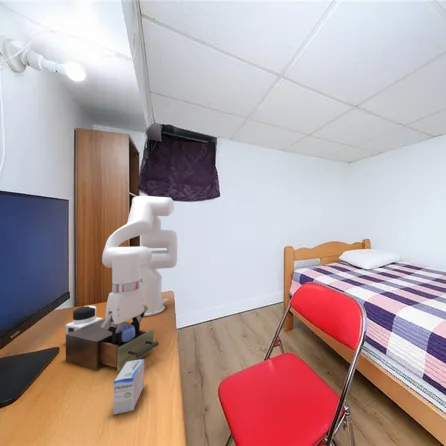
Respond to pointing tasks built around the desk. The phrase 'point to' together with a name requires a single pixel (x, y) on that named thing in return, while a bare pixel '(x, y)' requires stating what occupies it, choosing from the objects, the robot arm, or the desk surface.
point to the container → (82, 318)
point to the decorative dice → (127, 333)
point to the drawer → (126, 349)
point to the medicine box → (128, 386)
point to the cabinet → (87, 344)
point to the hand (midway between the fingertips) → (126, 337)
